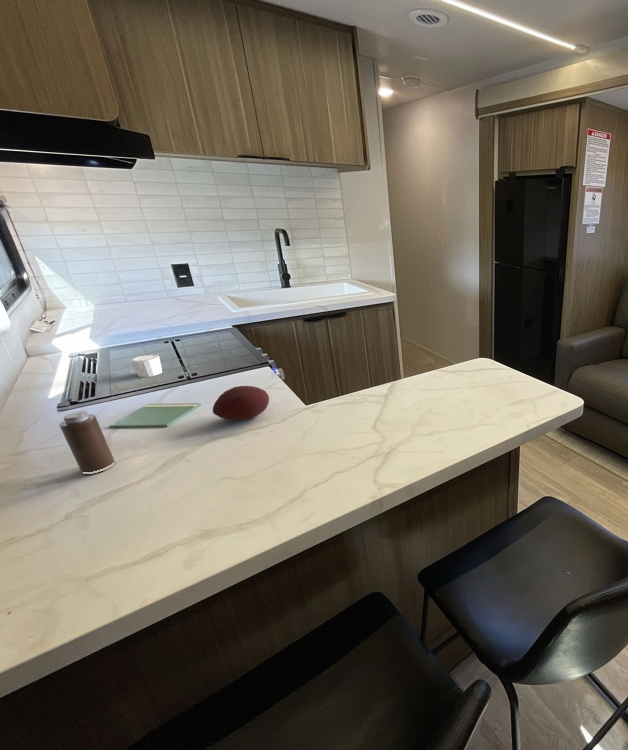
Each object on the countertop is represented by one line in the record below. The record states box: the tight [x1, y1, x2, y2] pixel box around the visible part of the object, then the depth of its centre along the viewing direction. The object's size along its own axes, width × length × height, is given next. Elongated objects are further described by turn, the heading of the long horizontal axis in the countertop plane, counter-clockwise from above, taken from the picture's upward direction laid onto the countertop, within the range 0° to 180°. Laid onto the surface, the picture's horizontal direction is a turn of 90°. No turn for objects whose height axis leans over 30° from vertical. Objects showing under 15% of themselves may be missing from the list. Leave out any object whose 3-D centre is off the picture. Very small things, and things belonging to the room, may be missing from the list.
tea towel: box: [108, 402, 202, 429], centre depth 103 cm, size 14×12×1 cm
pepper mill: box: [58, 410, 116, 473], centre depth 79 cm, size 5×5×12 cm
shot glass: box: [130, 354, 163, 378], centre depth 126 cm, size 7×7×7 cm
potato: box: [212, 385, 270, 421], centre depth 100 cm, size 12×11×8 cm
